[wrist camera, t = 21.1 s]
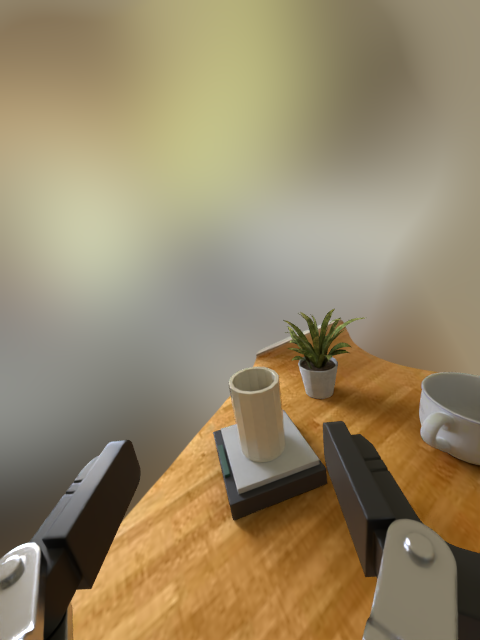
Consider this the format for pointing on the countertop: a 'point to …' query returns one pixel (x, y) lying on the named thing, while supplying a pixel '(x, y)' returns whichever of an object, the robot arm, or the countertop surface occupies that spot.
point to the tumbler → (258, 413)
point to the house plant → (318, 356)
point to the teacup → (452, 414)
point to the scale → (267, 471)
